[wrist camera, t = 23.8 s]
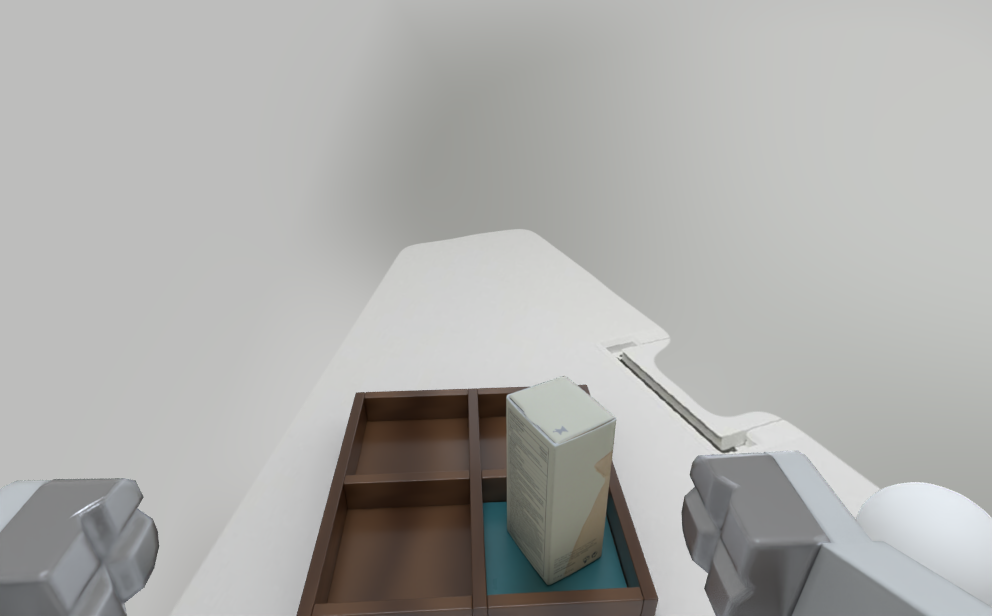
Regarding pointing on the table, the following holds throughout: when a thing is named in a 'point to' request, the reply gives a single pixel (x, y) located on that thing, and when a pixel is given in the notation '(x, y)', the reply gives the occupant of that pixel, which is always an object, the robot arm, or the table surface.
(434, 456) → the grid
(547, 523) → the box
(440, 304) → the table surface
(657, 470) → the table surface
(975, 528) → the lightbulb
